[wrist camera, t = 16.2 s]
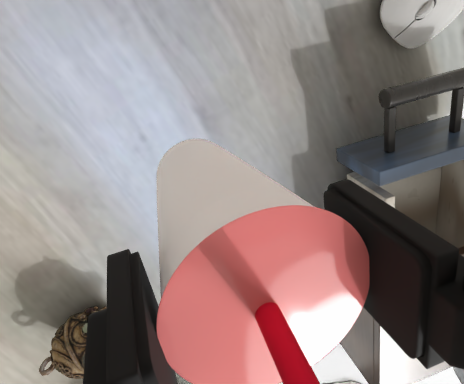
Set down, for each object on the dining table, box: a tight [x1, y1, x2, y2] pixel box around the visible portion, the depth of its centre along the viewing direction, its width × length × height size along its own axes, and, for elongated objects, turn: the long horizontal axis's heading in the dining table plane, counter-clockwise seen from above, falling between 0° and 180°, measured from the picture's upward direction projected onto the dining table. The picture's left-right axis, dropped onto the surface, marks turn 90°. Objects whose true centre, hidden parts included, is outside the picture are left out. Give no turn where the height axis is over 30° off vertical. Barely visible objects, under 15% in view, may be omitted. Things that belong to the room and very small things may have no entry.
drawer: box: [336, 68, 464, 248], centre depth 31 cm, size 18×11×6 cm, turn 11°
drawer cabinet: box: [340, 246, 464, 384], centre depth 37 cm, size 15×13×8 cm
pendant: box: [39, 306, 107, 379], centre depth 29 cm, size 5×8×5 cm, turn 117°
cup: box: [157, 139, 370, 384], centre depth 11 cm, size 5×5×12 cm
